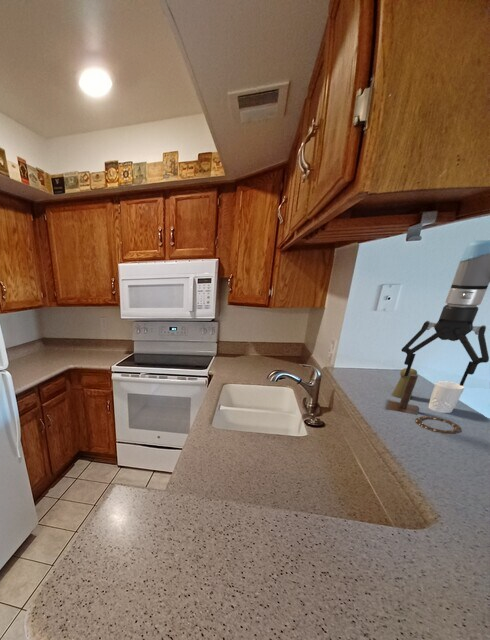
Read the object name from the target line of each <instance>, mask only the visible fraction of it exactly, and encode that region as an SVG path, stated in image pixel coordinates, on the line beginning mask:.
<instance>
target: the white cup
mask: <svg viewBox="0 0 490 640" xmlns="http://www.w3.org/2000/svg"><path fill="white" fill-rule="evenodd" d="M465 388H466V387H465V385H463V386H461V385H460V383H458V382H454V381H446V380H438V381H436V382H435V384H434V386H433V389H432V392H431V396H430V400H429V403H428V409H429V410H431V411H433V412H437V413H441V414H450V413H452V412H453V410H454V408H455V407H456V405H457V404H458V403H459V400H460V398H461V396H462V394H463V392H464V390H465Z"/></svg>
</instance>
